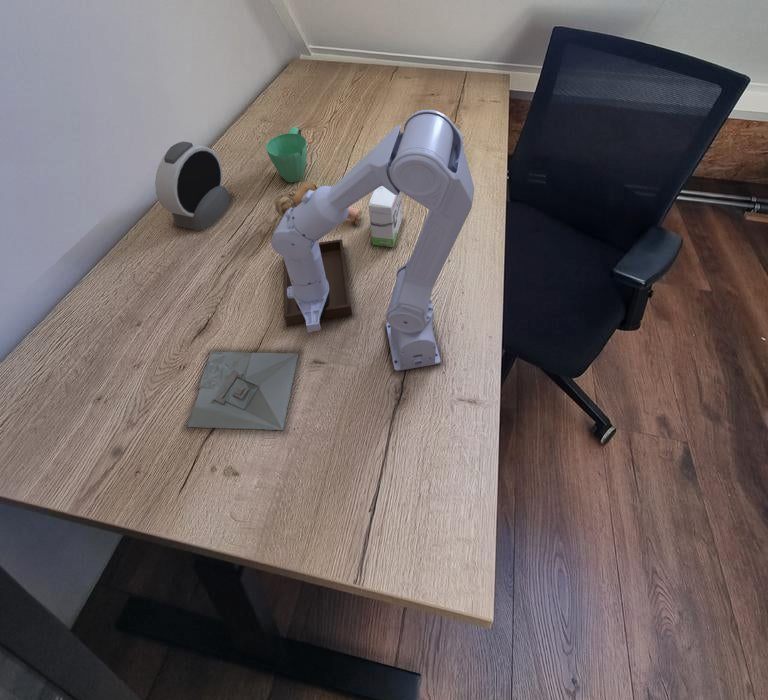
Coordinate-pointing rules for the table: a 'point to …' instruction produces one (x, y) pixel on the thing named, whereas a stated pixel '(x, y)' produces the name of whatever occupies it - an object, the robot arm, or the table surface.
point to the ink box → (384, 216)
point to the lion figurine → (293, 198)
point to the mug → (288, 154)
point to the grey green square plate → (244, 391)
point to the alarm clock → (191, 185)
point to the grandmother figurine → (354, 214)
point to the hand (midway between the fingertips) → (318, 318)
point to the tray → (336, 279)
